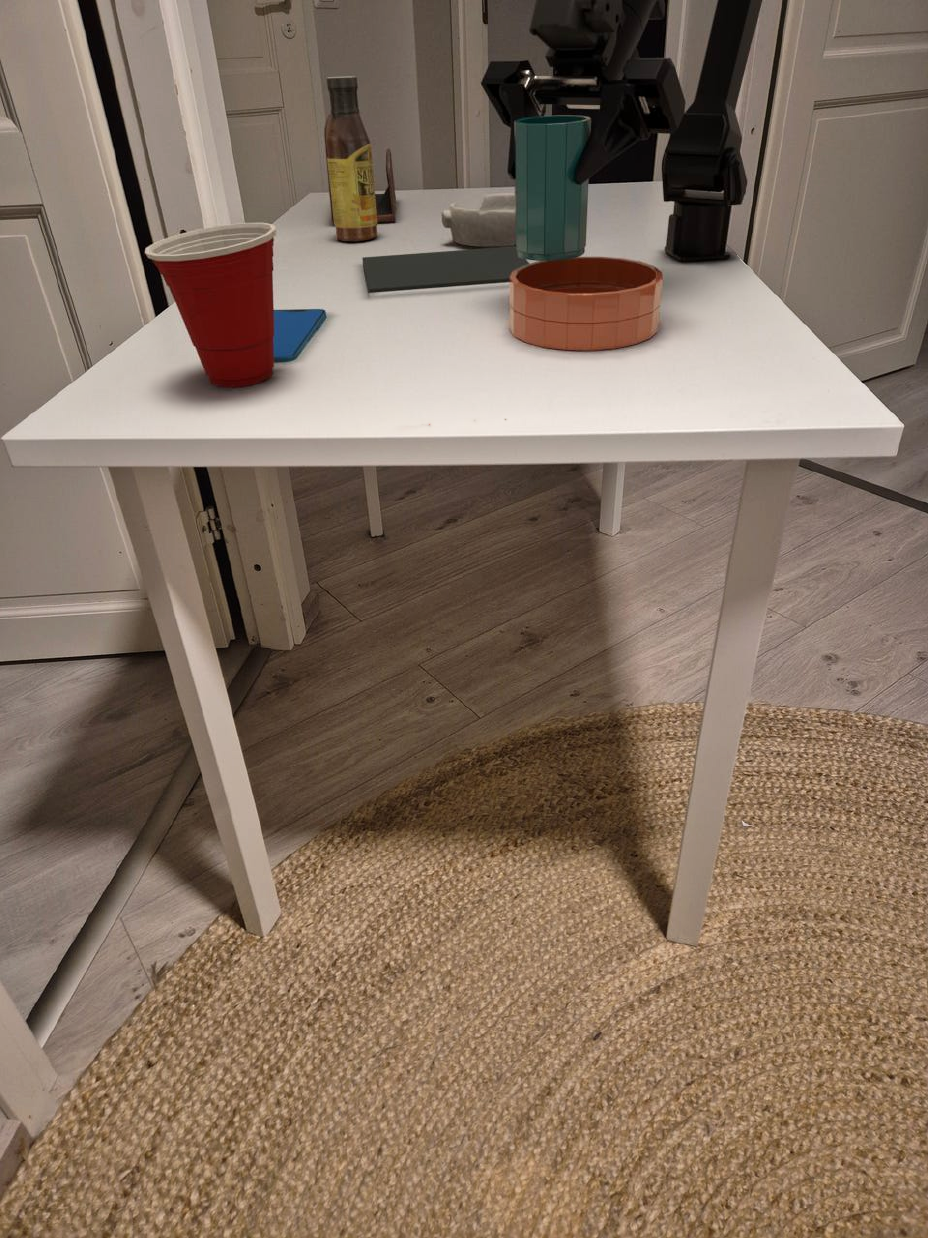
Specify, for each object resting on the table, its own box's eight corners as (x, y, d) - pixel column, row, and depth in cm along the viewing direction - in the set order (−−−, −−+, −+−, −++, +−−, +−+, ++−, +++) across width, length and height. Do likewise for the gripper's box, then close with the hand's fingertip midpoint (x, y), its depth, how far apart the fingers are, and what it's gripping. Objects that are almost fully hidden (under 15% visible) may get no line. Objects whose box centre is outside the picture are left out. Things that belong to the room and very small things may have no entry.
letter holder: (332, 226, 129) (319, 121, 121) (339, 203, 145) (329, 109, 137) (395, 222, 129) (387, 117, 121) (396, 200, 145) (389, 106, 137)
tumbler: (579, 243, 82) (584, 113, 75) (589, 259, 76) (595, 121, 70) (513, 246, 82) (512, 117, 75) (518, 262, 76) (517, 125, 70)
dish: (435, 248, 113) (433, 208, 111) (472, 227, 124) (471, 190, 121) (535, 253, 109) (536, 212, 106) (565, 231, 119) (566, 193, 116)
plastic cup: (189, 360, 79) (157, 223, 72) (303, 352, 79) (282, 216, 72) (166, 402, 70) (126, 251, 63) (293, 393, 70) (268, 242, 63)
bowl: (630, 307, 87) (635, 252, 84) (678, 349, 76) (685, 287, 73) (498, 318, 86) (498, 262, 83) (526, 363, 75) (527, 300, 71)
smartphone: (217, 359, 78) (261, 309, 90) (219, 369, 78) (263, 318, 90) (293, 358, 77) (328, 308, 89) (295, 368, 78) (329, 317, 90)
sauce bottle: (371, 243, 118) (355, 76, 106) (330, 243, 119) (309, 78, 107) (384, 233, 123) (370, 73, 111) (344, 233, 124) (326, 75, 112)
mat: (514, 254, 109) (514, 245, 108) (540, 284, 96) (540, 275, 96) (363, 265, 107) (362, 257, 107) (369, 297, 94) (368, 288, 94)
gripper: (490, -51, 73) (418, 109, 72) (687, -70, 63) (605, 114, 63) (539, 52, 82) (475, 194, 82) (716, 49, 73) (645, 209, 72)
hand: (542, 178), depth 74 cm, fingers closed on tumbler, 7 cm apart
